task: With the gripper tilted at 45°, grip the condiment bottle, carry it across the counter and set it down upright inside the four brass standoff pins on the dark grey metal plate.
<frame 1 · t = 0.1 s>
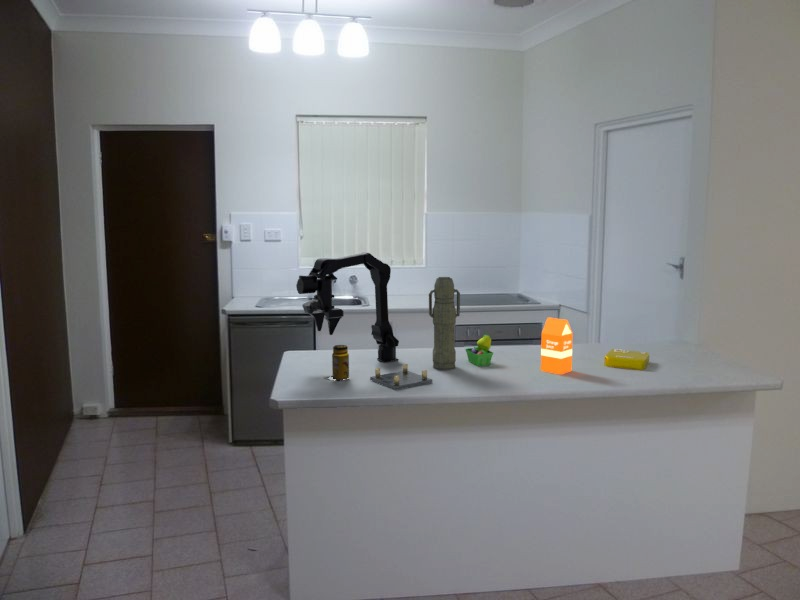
hand: (325, 332, 256), 15 cm above the countertop, tool pointing down, fingers open, 9 cm apart
element tile: (626, 365, 265), on the countertop
fruit basket: (480, 363, 268), on the countertop
thermos: (443, 367, 261), on the countertop
condiment: (338, 379, 247), on the countertop
orange juice: (556, 371, 255), on the countertop
chassis plate: (401, 381, 242), on the countertop
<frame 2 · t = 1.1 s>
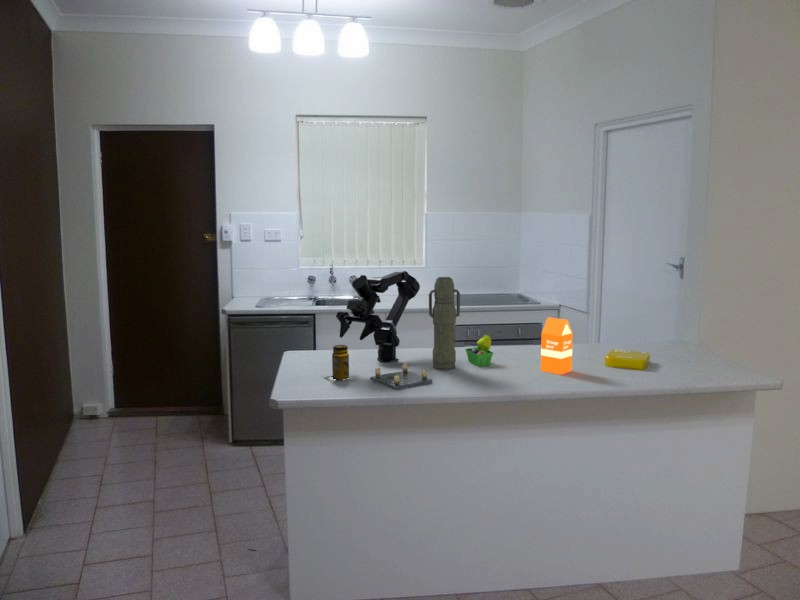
hand: (350, 338, 251), 13 cm above the countertop, tool tilted 45°, fingers open, 9 cm apart
nothing on the countertop moved.
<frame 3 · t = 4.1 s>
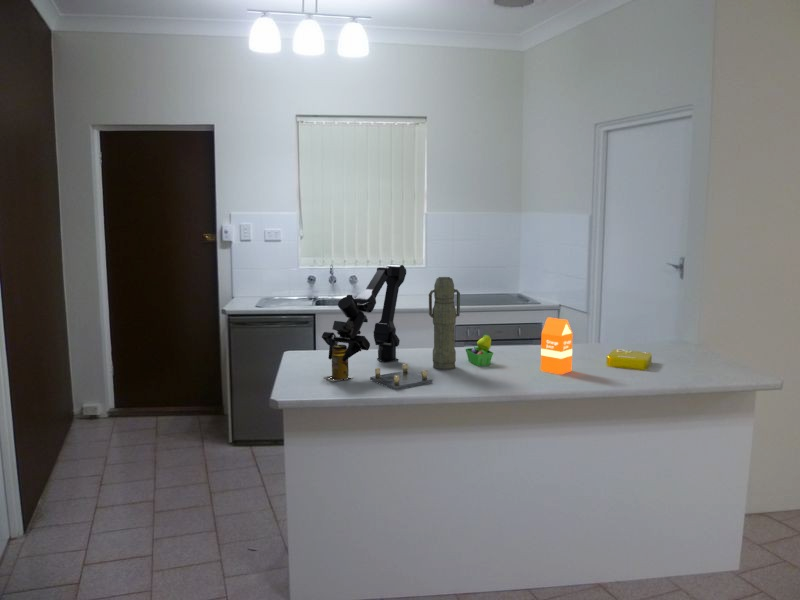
hand: (336, 359, 244), 7 cm above the countertop, tool tilted 45°, fingers closed on condiment, 6 cm apart
condiment: (338, 378, 247), on the countertop, touching gripper
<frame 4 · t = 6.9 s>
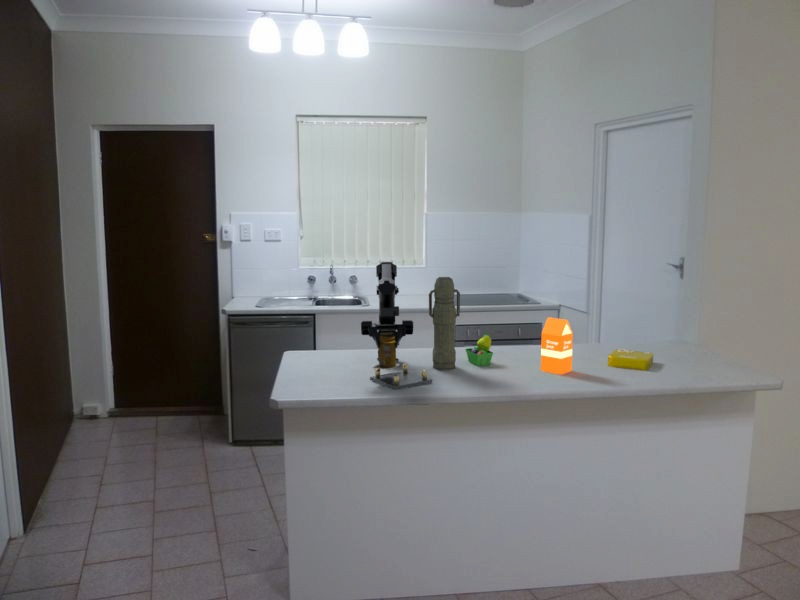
hand: (387, 347, 238), 13 cm above the countertop, tool tilted 45°, fingers closed on condiment, 6 cm apart
condiment: (386, 367, 241), point 5 cm above the countertop, touching gripper
when the fingers open (9 cm above the countertop, at t = 8.6 s): condiment drops 1 cm, resting on chassis plate.
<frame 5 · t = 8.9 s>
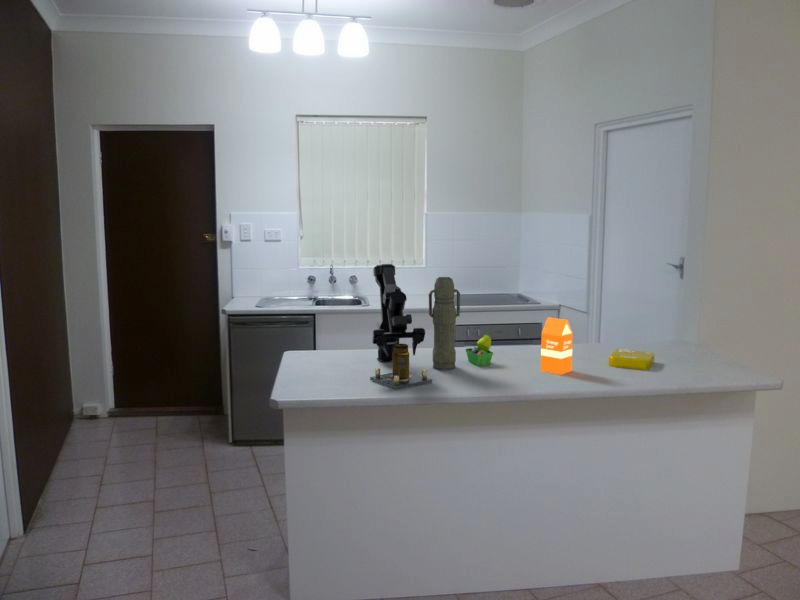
hand: (401, 355, 239), 10 cm above the countertop, tool tilted 45°, fingers open, 9 cm apart
condiment: (399, 378, 242), point 1 cm above the countertop, touching chassis plate
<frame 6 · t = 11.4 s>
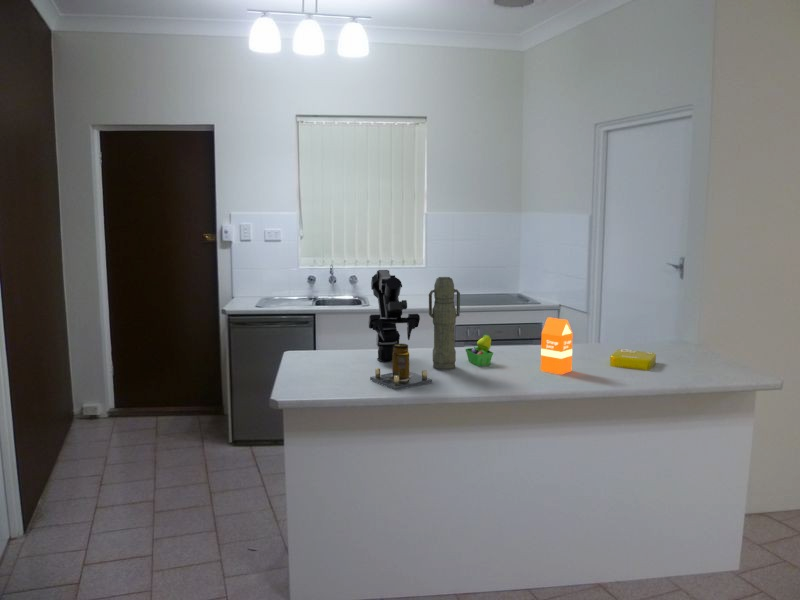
hand: (396, 339, 247), 14 cm above the countertop, tool tilted 45°, fingers open, 9 cm apart
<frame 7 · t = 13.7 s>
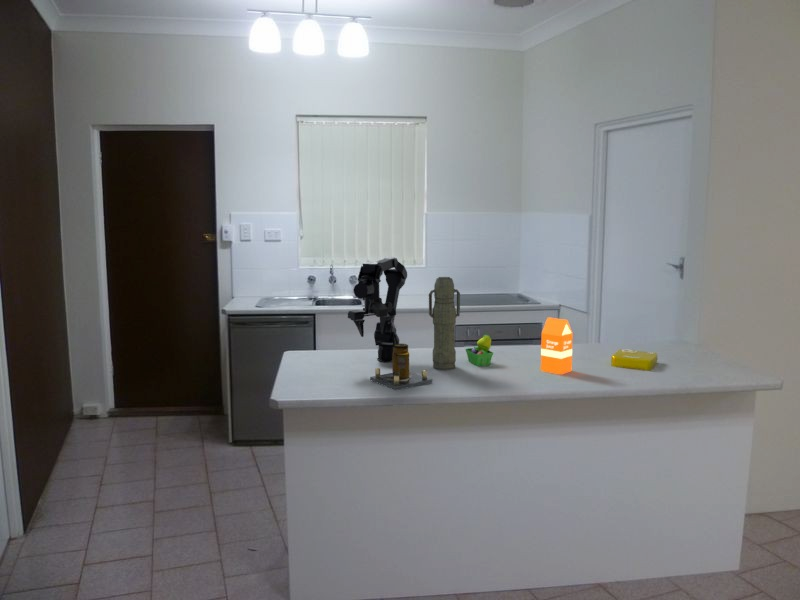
hand: (372, 335, 259), 13 cm above the countertop, tool pointing down, fingers open, 9 cm apart
at the end: condiment 0.4 cm off-centre on the chassis plate, point 1.0 cm above the chassis plate's base; condiment tilted 0°; the gripper is holding nothing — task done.
